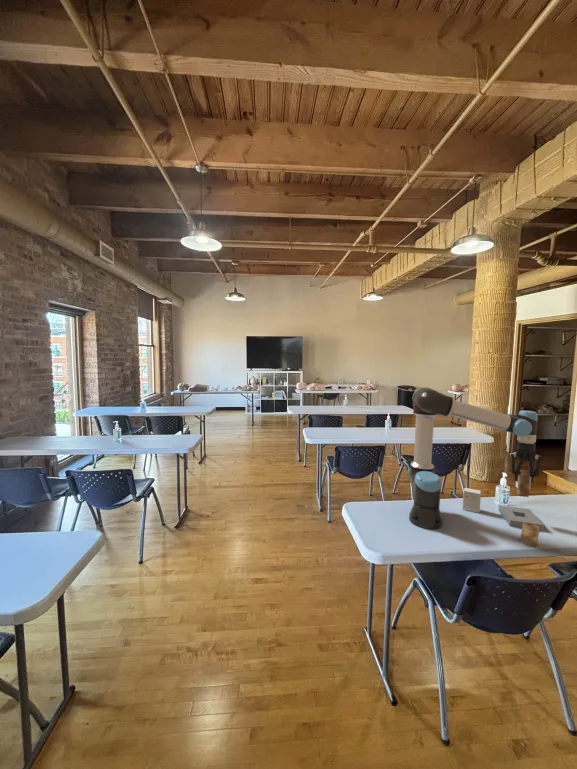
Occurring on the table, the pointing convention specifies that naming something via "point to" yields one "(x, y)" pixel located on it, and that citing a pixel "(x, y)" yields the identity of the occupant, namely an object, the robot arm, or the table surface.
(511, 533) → the table surface
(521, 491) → the square peg
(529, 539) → the light brown wooden block
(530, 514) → the socket block
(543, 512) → the table surface
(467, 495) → the small box
